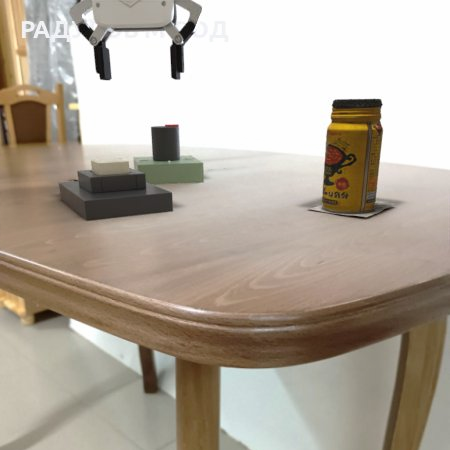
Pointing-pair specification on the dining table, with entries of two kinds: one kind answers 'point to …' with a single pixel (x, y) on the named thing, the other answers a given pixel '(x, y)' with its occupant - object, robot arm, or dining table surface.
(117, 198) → the tiered dark pedestal
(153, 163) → the panel
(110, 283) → the dining table surface
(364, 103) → the condiment
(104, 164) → the white key
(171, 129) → the volume knob
